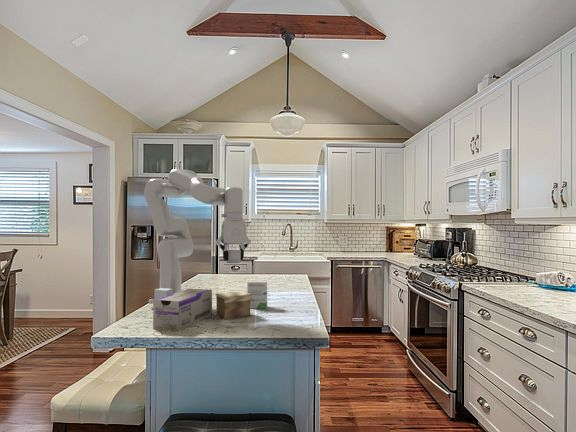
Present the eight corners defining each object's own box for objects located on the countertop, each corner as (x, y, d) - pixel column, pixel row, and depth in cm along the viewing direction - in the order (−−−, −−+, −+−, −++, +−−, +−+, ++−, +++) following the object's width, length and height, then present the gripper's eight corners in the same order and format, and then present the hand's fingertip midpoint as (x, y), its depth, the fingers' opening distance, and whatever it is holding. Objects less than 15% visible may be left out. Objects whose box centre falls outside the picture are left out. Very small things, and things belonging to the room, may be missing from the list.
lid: (225, 302, 151) (224, 296, 151) (215, 299, 161) (215, 293, 161) (252, 300, 157) (252, 294, 157) (241, 296, 166) (241, 291, 167)
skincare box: (173, 318, 154) (173, 288, 154) (166, 321, 150) (166, 290, 150) (160, 317, 156) (160, 287, 156) (153, 319, 152) (153, 289, 152)
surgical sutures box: (179, 331, 136) (179, 301, 136) (153, 329, 139) (153, 299, 139) (211, 315, 160) (212, 289, 160) (189, 313, 163) (189, 288, 163)
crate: (225, 319, 152) (225, 299, 152) (216, 314, 161) (216, 295, 161) (250, 316, 158) (250, 296, 158) (240, 311, 166) (240, 293, 166)
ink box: (267, 306, 177) (267, 280, 177) (265, 308, 172) (265, 282, 172) (249, 306, 178) (249, 280, 178) (247, 308, 173) (247, 282, 173)
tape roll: (229, 263, 156) (229, 250, 156) (224, 262, 161) (224, 250, 161) (242, 262, 158) (242, 250, 159) (237, 261, 164) (237, 249, 164)
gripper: (216, 216, 152) (216, 261, 152) (256, 217, 161) (256, 259, 161) (210, 216, 159) (210, 260, 159) (248, 217, 168) (248, 258, 167)
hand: (233, 259), depth 160 cm, fingers closed on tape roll, 6 cm apart
